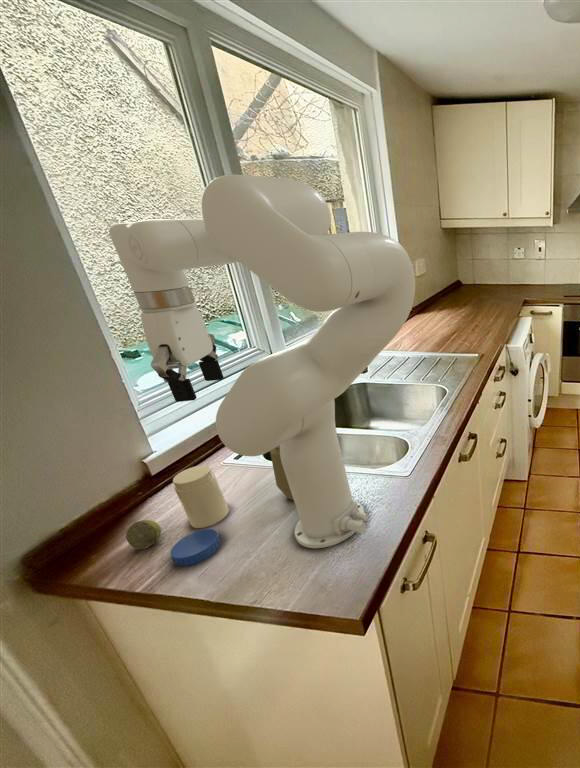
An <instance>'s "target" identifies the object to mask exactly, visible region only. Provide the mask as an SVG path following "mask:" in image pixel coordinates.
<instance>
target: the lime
mask: <svg viewBox="0 0 580 768" xmlns="http://www.w3.org/2000/svg"><path fill="white" fill-rule="evenodd" d="M161 534H162V528H161V526H160V525H159V524H158V523H157V522H156V521H153V520H150V519H142V520H138V521H135V522H134V523H133V524H131V525H130V526H129V527H128V529H127V531H126V534H125V539H126V541H127V543H128V545H129V546H131V548H134V549H136V550H144V549H148V548H149V547H151V546H152V545H154V544H156V543H157V542H158V540H159V539H160V537H161Z"/></svg>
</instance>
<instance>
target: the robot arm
mask: <svg viewBox="0 0 580 768" xmlns="http://www.w3.org/2000/svg"><path fill="white" fill-rule="evenodd" d="M200 213H201V214H200V215H201V218H195V217H194V218H192V217H191V218H161V219H159V218H158V219H157V218H154V219H141V220H137V221H133V222H132V221H131V222H118V223H114V224H112V225H111V226H110V227H109V230H108V231H109V232H108V233H109V236H110V239H111V241H112V244H113V245H114V249H115V251H116V254H117V256H118V259H119V261H120V263H121V265H122V268H123V270H124V273H125V275H126V278H127V280H128V282H129V285H130V287H131V289H132V292H133V295H134V296H135V299H136V301H137V304H138V307H139V308H140V309H139V310H140V311H141V312H140V321H141V325H142V329H143V333H144V337H145V339H146V342H147V347H148V349H149V351H150V354H151V357H152V361H151V362H150V367H151V368H152V369H153V370H154V372H156V373H157V375H158V377H159V378H161V379H163V381H164V382H165V383H167V384H168V387H169V389H170V391H171V394H172V397H173V398H174V401H175V402H176V403H181V402H191V401H195V400H196V399H197V398H198V397H197V394H196V391H195V390H194V387H193V385H192V381H191V380H190V378H187V372H188V371H187V369H188V367H189V366H191V365H193V364H195V363H197V362H198V361H199V362H198V365H199V368H200V371H201V373H202V376H203V378H204V381H206V382H214V381H221V380H223V379H224V377H225V376H224V374H223V372H222V368H221V365H220V363H219V361H218V359H219V356H218V354H217V345H216V340H215V339H216V338H215V335H214V334H212V333H209V331H208V328H207V326H206V324H205V321H204V318H203V317H202V313H200V311H199V309H198V307H197V302H196V298H195V296H194V293H193V291H192V288H191V285H190V282H189V280H188V279H189V278H188V277H187V274H186V270H191V269H192V270H193V269H201V268H209V267H216V266H225V265H230V264H235V263H240V264H241V265H243V267H245V268H246V269H248V270H249V271H251V273H253V274H254V275H256V277H258V278H259V279H261V280H262V281H263V282H264V283H266V284H267V285H268V286H269V287H271V288H272V289H273V290H274V291H276V292H277V293H278V294H280V296H282V297H284V298H285V299H286V300H287V301H289V302H291V303H293V304H294V305H296V306H298V307H299V308H301V309H304V310H307V311H310V312H317V313H319V312H330V311H331V313H330V314H329V315H328V316H327V317H326V318H325V319H324V320H323V322H322V323H321V325H320V326H319V328H318V329H317V330H316V331H315V332H314V333H313V334H312V336H309V338H308V339H307V340H304V341H303V342H300V343H298V344H296V345H292V346H290V347H288V348H285V349H282V350H280V351H279V350H278V351H276V352H273V353H272V354H269V355H267V356H264V357H262V358H260V359H257V360H255V361H254V362H253V363H251V364H250V365H248V366H247V367H246V368H245V369H244V370H243V371H242V372H241V373H240V374H239V376H238V377H237V379H236V380H235V382H234V384H233V385H232V386H231V388H230V389H229V391H228V392H227V394H225V397H224V398H223V399H222V401H221V402H220V405H219V407H218V409H217V412H216V414H215V415H216V416H215V428H216V429H215V430H216V432H217V436H218V438H219V439H220V442H221V443H222V444H223V445H224V446H225V447H226V448H227V449H228V450H229V451H231V452H233V453H234V454H237V455H239V456H244V457H259V456H262V455H265V454H267V453H270V451H271V450H272V449H274V448H276V447H278V446H279V445H280V457H281V462H282V465H283V468H284V472H285V475H286V478H287V481H288V484H289V487H290V490H291V493H292V496H293V499H294V500H293V502H294V506H295V508H296V510H297V515H298V518H299V519H298V521H297V523H296V524H295V526H294V533H293V534H294V537H295V540H296V541H297V543H298V544H299V545H300V546H302V547H305V548H307V549H322V548H323V549H324V548H327V547H332V546H335V545H337V544H340V543H342V542H344V541H346V540H347V539H350V537H352V536H353V535H354V534H355V533H357V534H363V533H364V532H365V531H366V530H367V529H366V528H367V523H366V521H368V520H369V517H370V515H369V513H367V512H365V509H364V506H363V505H362V503H361V502H360V501H358V500H355V499H353V496H352V492H351V487H350V482H349V479H348V475H347V470H346V467H345V463H344V459H343V454H342V451H341V446H340V442H339V438H338V433H337V427H336V402H335V399H337V398H338V397H339V396H341V395H342V394H343V393H345V392H346V391H347V389H349V387H350V386H351V385H352V384H353V383H354V382H355V380H356V379H358V377H359V376H360V375H361V374H362V373H363V372H364V371H365V370H366V369H367V368H369V365H371V363H372V362H373V361H374V360H375V359H376V358H377V356H379V354H381V352H382V351H383V350H384V349H385V348H386V347H387V346H388V345H389V344H390V343H391V341H393V339H394V338H395V337H396V336H397V335H398V333H399V332H400V330H401V329H402V328H403V326H404V325H405V323H406V322H407V320H408V318H409V315H410V313H411V311H412V308H413V304H414V301H415V295H416V277H415V270H414V267H413V263H412V260H411V259H410V256H409V254H408V252H407V251H406V249H405V248H404V246H403V245H402V244H401V243H400V242H398V241H397V240H395V239H394V238H393V237H391V236H388V235H386V234H383V233H378V232H373V231H350V232H337V233H329V231H330V227H331V223H332V214H331V210H330V207H329V204H328V203H327V201H326V199H325V198H324V197H323V195H322V194H321V193H320V192H319V191H318V190H316V189H315V188H314V187H312V186H310V185H309V184H308V183H305V182H302V181H300V180H297V179H292V178H285V177H274V176H261V175H250V174H249V175H248V174H233V173H232V174H225V175H220V176H218V177H215V178H213V179H212V180H211V181H210V182H209V183H208V184H207V185H206V186H205V188H204V189H203V192H202V194H201V198H200ZM176 369H177V370H178V371H175V370H176Z"/></svg>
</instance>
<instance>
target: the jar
mask: <svg viewBox="0 0 580 768" xmlns="http://www.w3.org/2000/svg"><path fill="white" fill-rule="evenodd" d="M172 482H173V485H174V488H173V489H174V491H175V494H176V496H177V498H178V500H179V503H180V505H181V506H182V509H183V511H184V512H185V516H186V517H187V520H188V521H189V523H190V525H191V527H192V528H194V529H203V528H204V529H205V528H208V527H210V526H214V525H215V524H217V523H219V522H221V521H222V520H223V519H225V518H226V517H227V515H228V514H229V512H230V509H229V506H228V504H227V501H226V499H225V497H224V494H223V492H222V490H221V487H220V484H219V482H218V479H217V477H216V475H215V473H214V472H213V470H212V468H211V467H209V466H208V465H195V466H192V467H189V468H187V469H184V470H182V471H181V472H178V473H177V474H176V475H174V477H173V479H172Z"/></svg>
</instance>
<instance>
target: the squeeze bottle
mask: <svg viewBox="0 0 580 768" xmlns="http://www.w3.org/2000/svg"><path fill="white" fill-rule="evenodd" d="M269 453H270V458H271V464H272V469H273V473H274V478H275V484H276V486H277V488H278V489H279V490H280V492H282V494H284V496H285V497H286V498H287V499H289V500H292V501H294V499H293V496H292V493H291V490H290V487H289V484H288V481H287V478H286V475H285V472H284V468H283V465H282V462H281V457H280V445H279V446H278V447H276V448H274V449H272V450H271V451H269Z"/></svg>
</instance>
